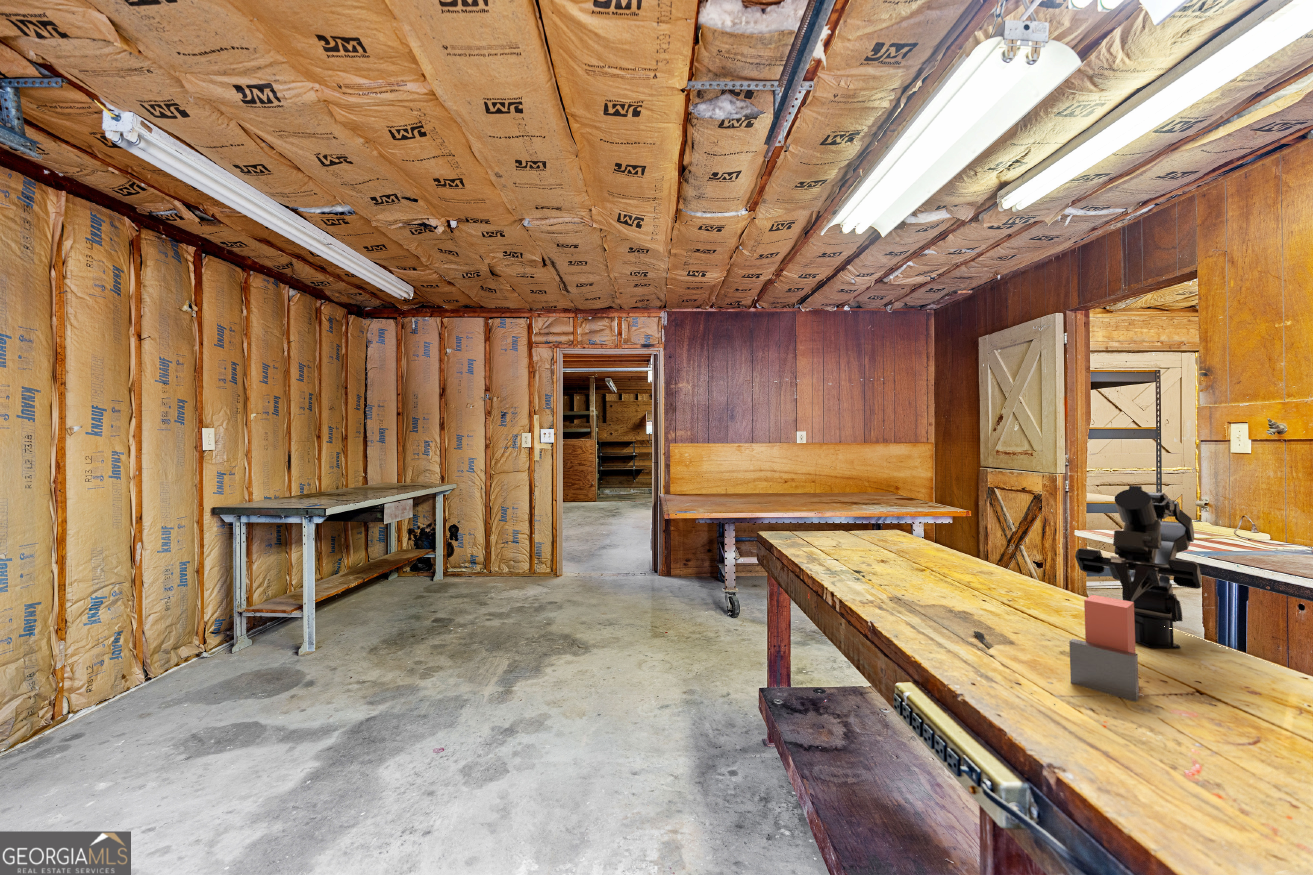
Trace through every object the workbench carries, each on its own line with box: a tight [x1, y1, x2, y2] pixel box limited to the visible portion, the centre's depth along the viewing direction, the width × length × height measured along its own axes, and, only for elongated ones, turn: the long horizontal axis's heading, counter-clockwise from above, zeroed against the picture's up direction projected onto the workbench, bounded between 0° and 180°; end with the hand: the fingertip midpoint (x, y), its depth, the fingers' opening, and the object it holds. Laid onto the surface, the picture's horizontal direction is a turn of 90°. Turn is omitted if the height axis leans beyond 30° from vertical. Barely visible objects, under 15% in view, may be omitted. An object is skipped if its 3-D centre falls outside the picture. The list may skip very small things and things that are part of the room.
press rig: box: [1068, 638, 1145, 703], centre depth 95 cm, size 14×10×9 cm
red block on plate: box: [1083, 594, 1137, 654], centre depth 95 cm, size 5×6×15 cm
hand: (1128, 601), depth 103 cm, fingers closed
